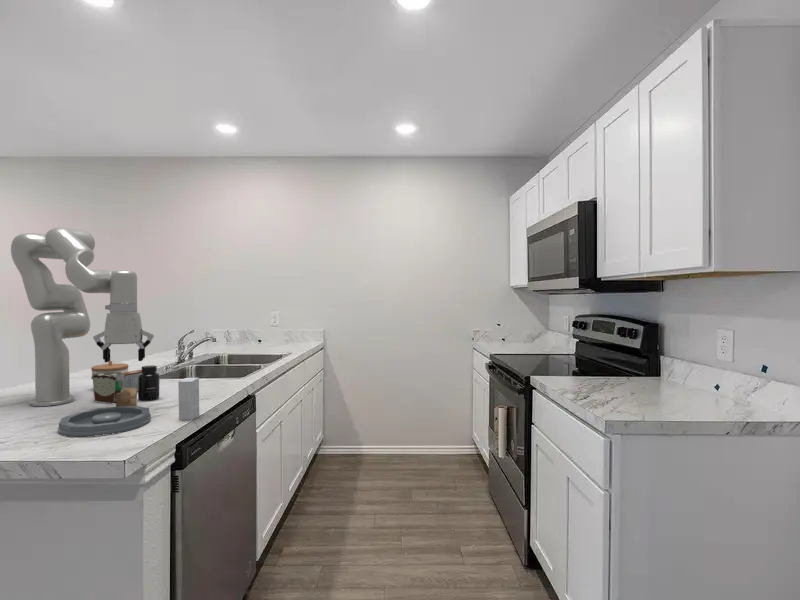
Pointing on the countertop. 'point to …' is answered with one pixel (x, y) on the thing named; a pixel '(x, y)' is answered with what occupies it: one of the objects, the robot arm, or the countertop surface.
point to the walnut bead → (123, 399)
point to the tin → (130, 379)
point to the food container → (107, 386)
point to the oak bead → (132, 395)
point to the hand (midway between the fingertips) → (124, 361)
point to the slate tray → (92, 429)
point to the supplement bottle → (148, 384)
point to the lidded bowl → (110, 368)
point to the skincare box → (188, 398)
